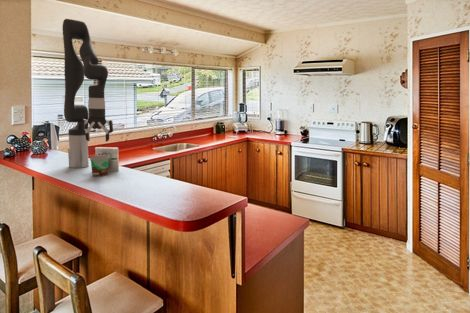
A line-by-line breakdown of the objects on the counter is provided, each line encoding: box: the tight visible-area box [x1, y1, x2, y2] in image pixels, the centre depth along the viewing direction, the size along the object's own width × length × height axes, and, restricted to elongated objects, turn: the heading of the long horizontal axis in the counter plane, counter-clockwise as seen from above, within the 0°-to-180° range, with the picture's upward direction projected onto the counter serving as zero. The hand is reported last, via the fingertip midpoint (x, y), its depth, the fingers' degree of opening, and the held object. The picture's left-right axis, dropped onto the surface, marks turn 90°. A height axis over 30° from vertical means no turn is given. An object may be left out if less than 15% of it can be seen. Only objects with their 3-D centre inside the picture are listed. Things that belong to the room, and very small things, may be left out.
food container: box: [89, 153, 110, 177], centre depth 175 cm, size 12×6×10 cm, turn 173°
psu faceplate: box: [94, 146, 120, 172], centre depth 184 cm, size 11×2×12 cm, turn 100°
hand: (97, 141), depth 173 cm, fingers open, 8 cm apart
